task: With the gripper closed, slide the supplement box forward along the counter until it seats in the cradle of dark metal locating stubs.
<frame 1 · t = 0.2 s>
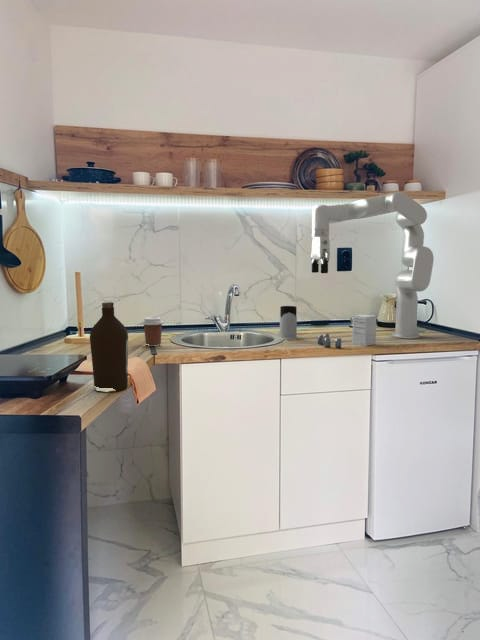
hand: (319, 272, 208), 31 cm above the countertop, tool pointing down, fingers open, 9 cm apart
supplement box: (363, 344, 205), on the countertop
stub cradle: (334, 345, 202), on the countertop
glass holder: (287, 337, 222), on the countertop
coffee cup: (153, 345, 203), on the countertop
olive oil: (111, 389, 136), on the countertop
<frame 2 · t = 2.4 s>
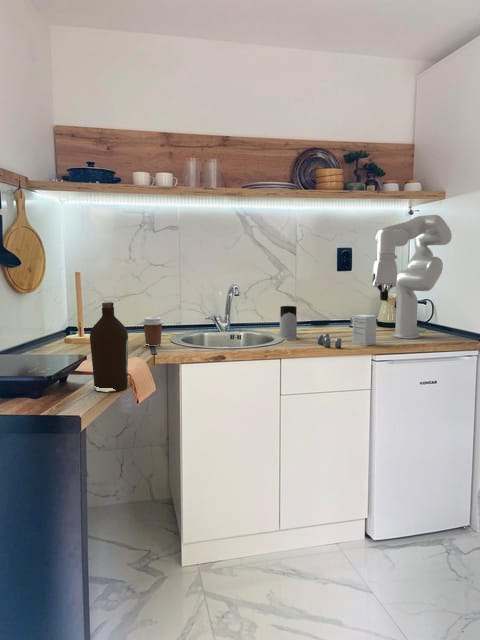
hand: (383, 300, 204), 19 cm above the countertop, tool pointing down, fingers closed
nothing on the countertop moved.
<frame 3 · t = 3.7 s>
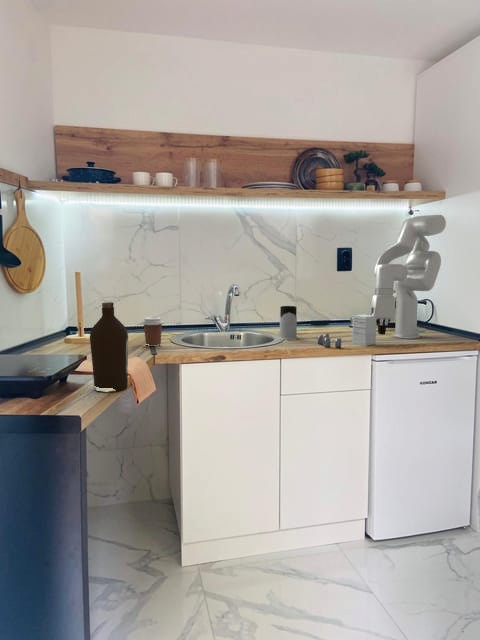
hand: (381, 334, 205), 4 cm above the countertop, tool pointing down, fingers closed
nothing on the countertop moved.
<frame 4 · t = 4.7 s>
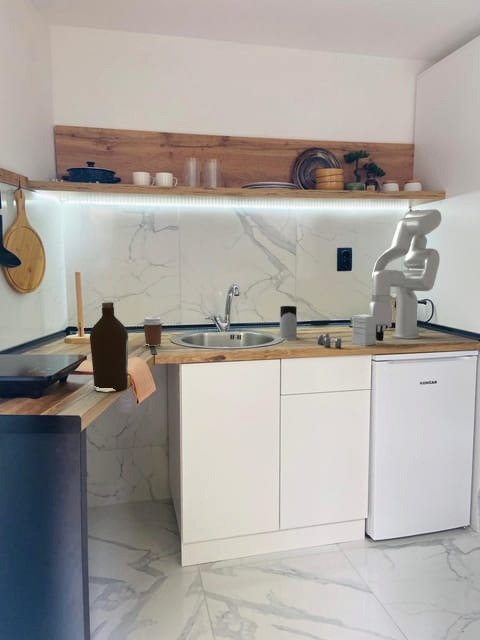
hand: (379, 340, 206), 1 cm above the countertop, tool pointing down, fingers closed
supplement box: (363, 344, 205), on the countertop, touching gripper
everything else where it was.
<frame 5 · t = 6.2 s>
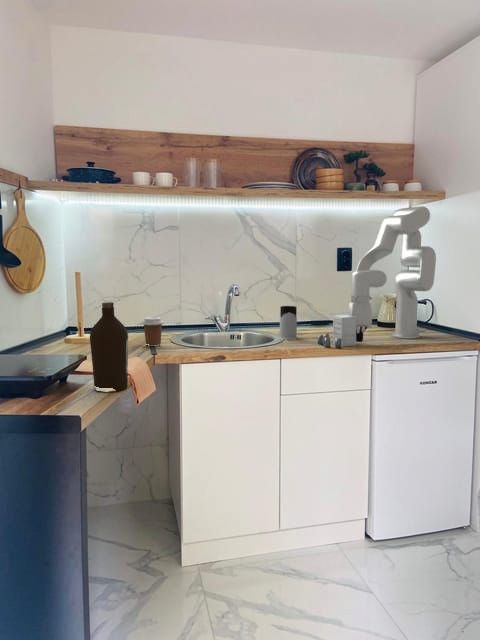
hand: (359, 341, 204), 1 cm above the countertop, tool pointing down, fingers closed
supplement box: (344, 345, 203), on the countertop, touching gripper
everything else where it was.
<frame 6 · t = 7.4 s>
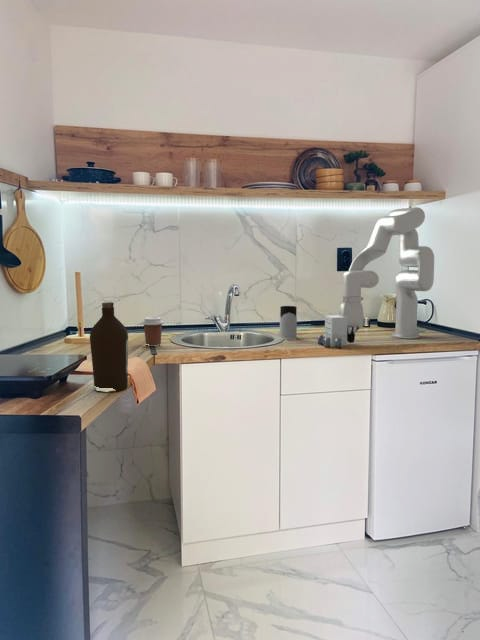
hand: (350, 342, 203), 1 cm above the countertop, tool pointing down, fingers closed
supplement box: (335, 345, 202), on the countertop, touching gripper
everything else where it was.
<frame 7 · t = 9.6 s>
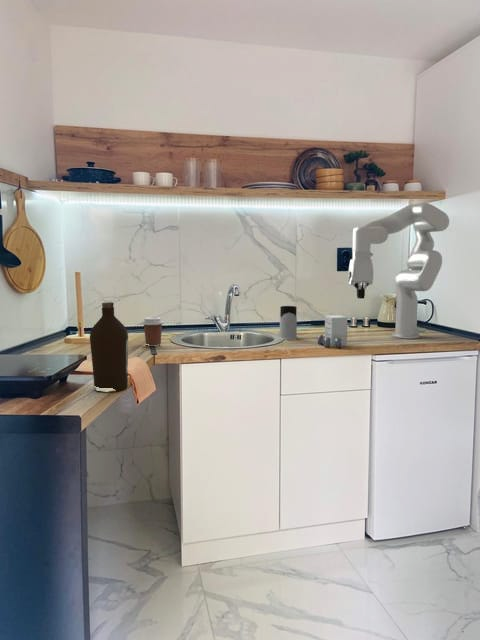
hand: (360, 298, 204), 20 cm above the countertop, tool pointing down, fingers closed
supplement box: (335, 345, 202), on the countertop
everything else where it was.
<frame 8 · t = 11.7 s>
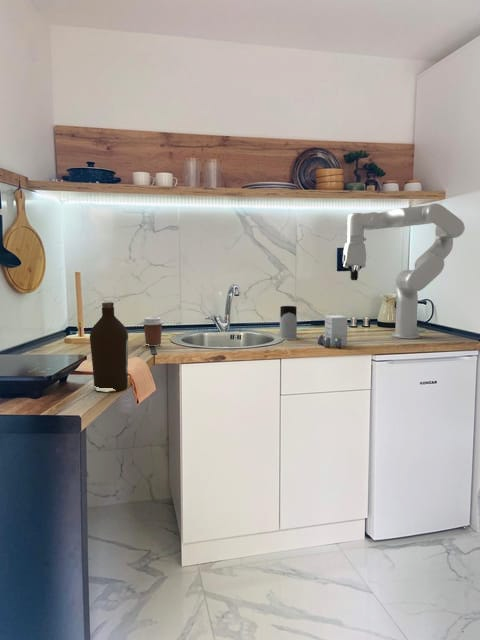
hand: (354, 280, 218), 27 cm above the countertop, tool pointing down, fingers closed
nothing on the countertop moved.
at the end: supplement box 0.7 cm off-centre on the stub cradle, point 0.0 cm above the stub cradle's base; supplement box tilted 0°; supplement box moved 13.2 cm from its start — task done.
